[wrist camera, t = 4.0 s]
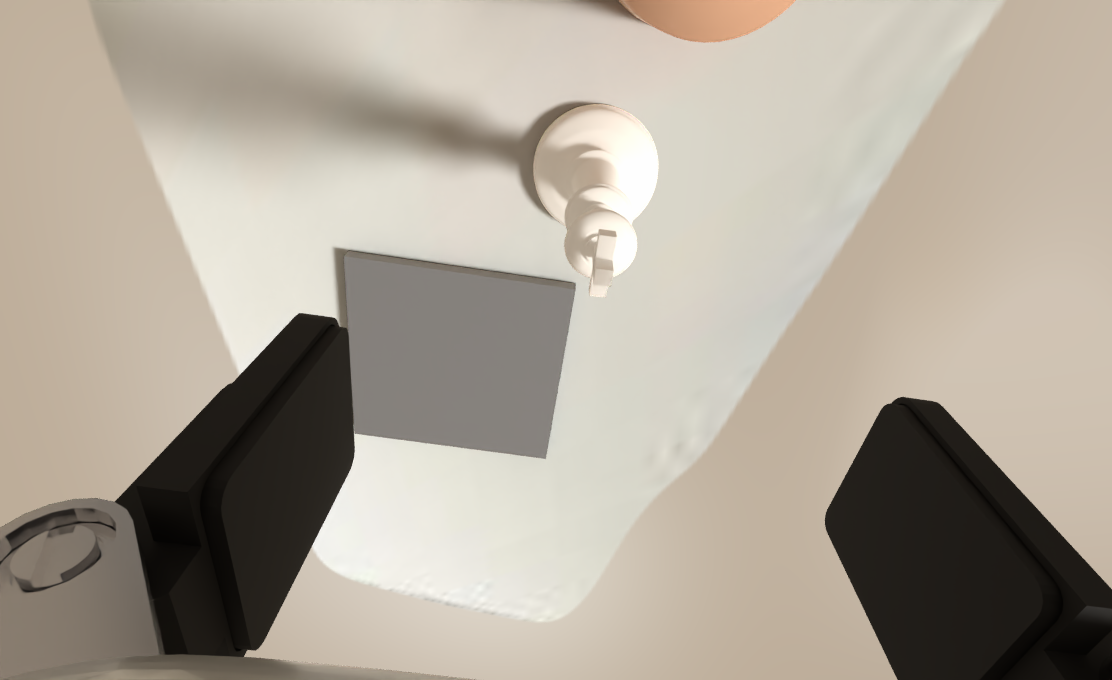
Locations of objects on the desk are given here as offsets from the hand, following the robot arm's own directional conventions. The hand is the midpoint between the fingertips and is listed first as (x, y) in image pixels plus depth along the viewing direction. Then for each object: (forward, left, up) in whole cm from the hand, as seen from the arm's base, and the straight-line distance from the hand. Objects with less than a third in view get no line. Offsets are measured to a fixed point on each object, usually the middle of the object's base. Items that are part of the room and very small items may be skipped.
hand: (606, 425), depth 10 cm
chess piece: (-1, 0, -15) cm, 15 cm away
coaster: (+9, -5, -15) cm, 18 cm away
